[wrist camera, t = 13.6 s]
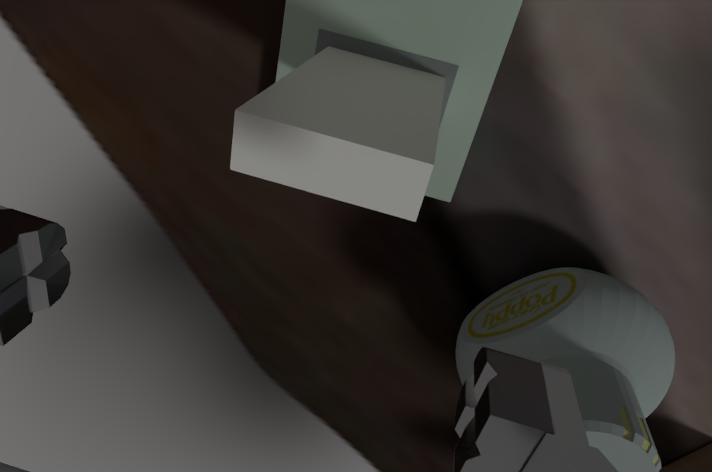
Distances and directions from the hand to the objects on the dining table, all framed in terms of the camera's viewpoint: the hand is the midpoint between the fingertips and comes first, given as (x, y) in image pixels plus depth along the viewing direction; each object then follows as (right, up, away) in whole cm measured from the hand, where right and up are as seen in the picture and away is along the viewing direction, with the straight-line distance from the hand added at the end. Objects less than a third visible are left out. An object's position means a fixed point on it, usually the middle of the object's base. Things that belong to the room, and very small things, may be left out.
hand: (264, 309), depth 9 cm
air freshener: (+13, -4, +20) cm, 24 cm away
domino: (+3, +9, +14) cm, 17 cm away
